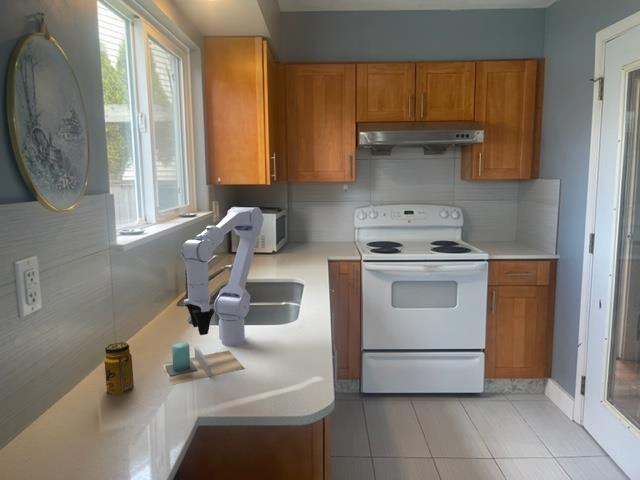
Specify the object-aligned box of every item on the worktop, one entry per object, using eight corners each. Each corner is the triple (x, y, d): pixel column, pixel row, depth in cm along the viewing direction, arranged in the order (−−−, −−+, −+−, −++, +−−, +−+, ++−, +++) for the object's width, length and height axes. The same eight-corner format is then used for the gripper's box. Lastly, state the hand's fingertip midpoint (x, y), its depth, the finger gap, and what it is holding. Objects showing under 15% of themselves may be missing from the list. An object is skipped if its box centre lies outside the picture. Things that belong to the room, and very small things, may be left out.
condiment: (98, 396, 107) (94, 348, 105) (127, 381, 114) (123, 336, 113) (120, 402, 104) (117, 352, 102) (148, 386, 111) (145, 340, 110)
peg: (171, 365, 120) (171, 344, 119) (188, 363, 122) (188, 342, 121) (173, 372, 116) (173, 349, 115) (191, 369, 118) (190, 347, 117)
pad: (165, 366, 120) (165, 365, 120) (191, 361, 124) (191, 360, 124) (170, 376, 114) (169, 375, 114) (197, 370, 118) (197, 369, 118)
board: (161, 366, 123) (161, 363, 123) (228, 353, 132) (228, 350, 132) (171, 388, 110) (171, 384, 110) (245, 372, 119) (245, 368, 119)
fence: (194, 356, 127) (194, 346, 127) (197, 356, 127) (197, 346, 127) (208, 376, 114) (207, 365, 114) (211, 376, 114) (210, 364, 114)
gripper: (178, 279, 127) (180, 325, 129) (189, 290, 114) (191, 340, 116) (202, 277, 130) (204, 321, 132) (216, 286, 118) (218, 336, 120)
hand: (200, 330), depth 124 cm, fingers open, 7 cm apart
